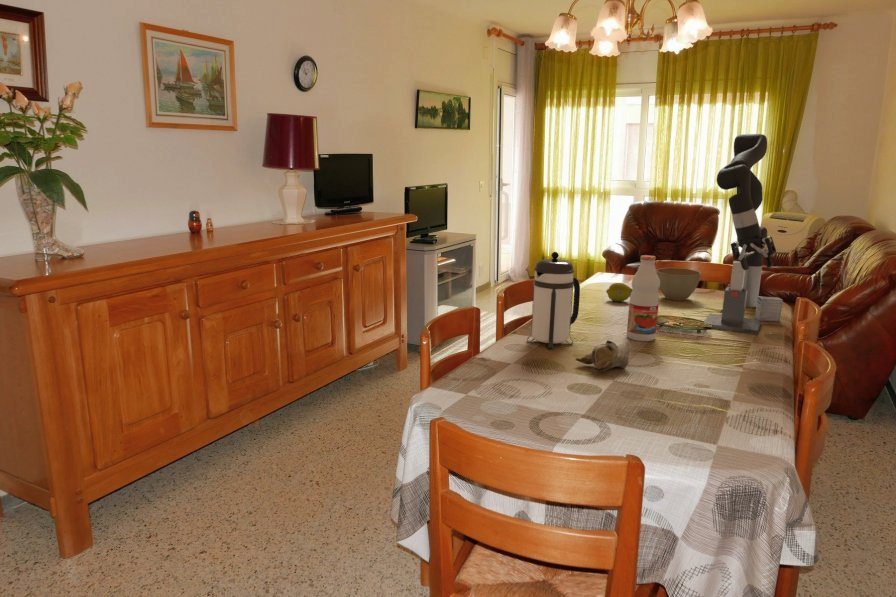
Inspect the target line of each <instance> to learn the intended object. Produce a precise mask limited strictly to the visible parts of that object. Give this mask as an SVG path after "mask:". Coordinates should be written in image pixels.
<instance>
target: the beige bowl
mask: <svg viewBox="0 0 896 597" xmlns="http://www.w3.org/2000/svg"><path fill="white" fill-rule="evenodd" d="M656 273H657V275H658V277H659V279H660V287H659V290H660V291H661V293H662V294H663V296H664V298H666V299H667V300H670V301H676V302H683V301H687V299H688V298H690V296H692V294H694V291H695V290H696V289H697V287H698V285H699V283H700V278H701V276H702V274H701V272H700V271H698V270H695V269H689V268H681V267H662V268H657V269H656Z"/></svg>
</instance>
